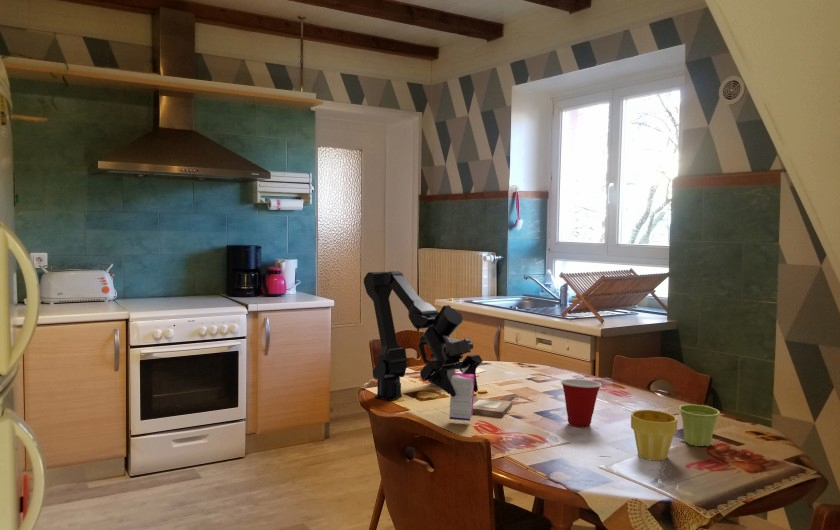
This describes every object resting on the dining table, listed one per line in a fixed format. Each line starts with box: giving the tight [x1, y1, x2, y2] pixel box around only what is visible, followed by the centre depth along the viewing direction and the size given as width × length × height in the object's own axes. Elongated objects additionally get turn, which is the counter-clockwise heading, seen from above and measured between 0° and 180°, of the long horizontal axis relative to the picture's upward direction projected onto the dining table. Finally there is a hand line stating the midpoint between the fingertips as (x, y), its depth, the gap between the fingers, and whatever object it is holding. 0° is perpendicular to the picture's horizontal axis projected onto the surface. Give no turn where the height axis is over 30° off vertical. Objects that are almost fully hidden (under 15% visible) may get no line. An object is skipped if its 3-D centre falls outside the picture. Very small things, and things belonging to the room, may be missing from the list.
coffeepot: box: [418, 336, 462, 388], centre depth 223 cm, size 15×9×18 cm, turn 103°
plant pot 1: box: [630, 409, 678, 461], centre depth 159 cm, size 10×10×10 cm
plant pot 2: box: [678, 404, 720, 447], centre depth 169 cm, size 9×9×9 cm
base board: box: [473, 396, 513, 418], centre depth 195 cm, size 12×12×2 cm
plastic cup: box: [560, 378, 602, 428], centre depth 182 cm, size 11×11×12 cm
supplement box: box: [449, 372, 475, 422], centre depth 180 cm, size 6×6×12 cm
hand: (465, 393), depth 179 cm, fingers closed on supplement box, 8 cm apart
